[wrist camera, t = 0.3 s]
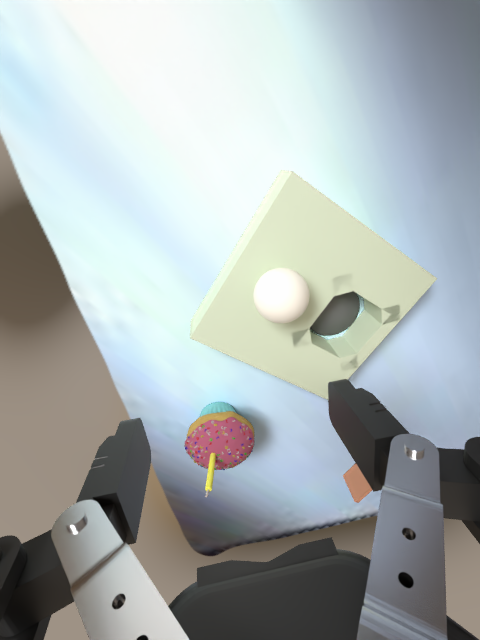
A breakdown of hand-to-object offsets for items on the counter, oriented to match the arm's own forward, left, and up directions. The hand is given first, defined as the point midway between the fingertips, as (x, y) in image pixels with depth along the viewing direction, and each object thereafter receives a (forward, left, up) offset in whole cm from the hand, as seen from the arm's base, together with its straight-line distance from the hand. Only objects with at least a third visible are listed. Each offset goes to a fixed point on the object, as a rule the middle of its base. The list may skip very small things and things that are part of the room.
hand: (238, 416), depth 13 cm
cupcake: (+18, +11, -22) cm, 30 cm away
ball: (-2, +5, -15) cm, 16 cm away
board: (-2, +10, -22) cm, 24 cm away
